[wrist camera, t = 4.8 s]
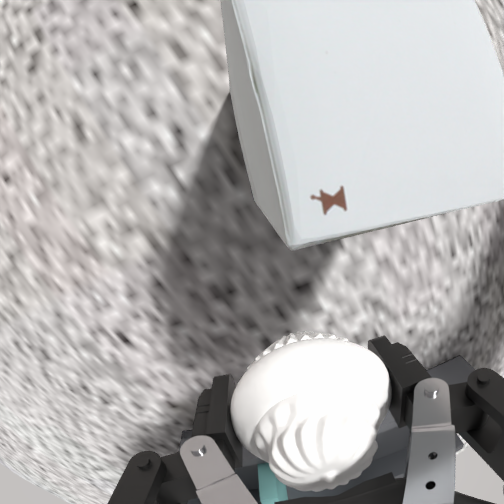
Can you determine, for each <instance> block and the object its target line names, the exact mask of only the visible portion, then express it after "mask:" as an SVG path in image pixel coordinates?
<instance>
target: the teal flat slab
mask: <svg viewBox="0 0 504 504" xmlns="http://www.w3.org/2000/svg"><path fill="white" fill-rule="evenodd" d="M257 465H258V479H259V492H260V501H261V503H262V504H274V502H278V501H284V500H288V496H287V490H286V485H285V484H283V483H281V482H280V481H279V480H278V479H277V478H276V476H275V474H274V473H273V472H272V470H271V469H270V467H269V463H262V464H257Z"/></svg>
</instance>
